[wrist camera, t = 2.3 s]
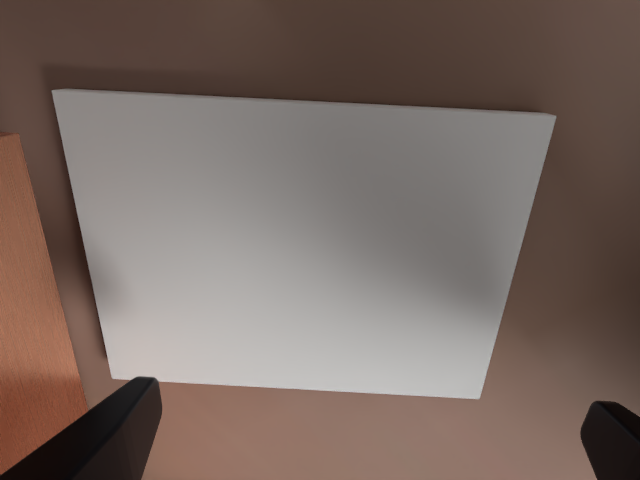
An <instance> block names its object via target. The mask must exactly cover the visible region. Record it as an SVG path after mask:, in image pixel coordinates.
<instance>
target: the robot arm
mask: <svg viewBox="0 0 640 480" xmlns="http://www.w3.org/2000/svg"><path fill="white" fill-rule="evenodd" d="M161 415H162V402H161V395H160V389H159V383H158V380H157V379H156V378H155V377H145V376H138V377H135V378H133V379H132V380H130V381H129V382H128V383H126V384H125V385H123V386H122V387H121V388H119V389H118V390H117V391H115V392H114V393H112V394H111V395H110V396H108V397H107V398H106V399H104V400H103V401H101V402H100V403H99V404H97V405H96V406H95V407H93V408H92V409H90V410H89V411H88V412H86V413H85V414H84V415H82V416H81V417H79V418H78V419H77V420H75V421H74V422H73V423H71V424H70V425H68V426H67V427H66V428H64V429H63V430H62V431H60V432H59V433H57V434H56V435H55V436H53V437H52V438H51V439H49V440H48V441H46V442H45V443H44V444H42V445H41V446H40V447H38V448H37V449H35V450H34V451H33V452H31V453H30V454H29V455H27V456H26V457H24V458H23V459H22V460H20V461H19V462H18V463H16V464H15V465H13V466H12V467H11V468H9V469H8V470H7V471H5V472H4V473H2V474H1V475H0V480H141V479H142V475H143V472H144V469H145V466H146V463H147V460H148V457H149V454H150V450H151V447H152V444H153V441H154V438H155V435H156V432H157V429H158V425H159V422H160V419H161ZM580 433H581V440H582V443H583V446H584V448H585V451H586V453H587V456H588V458H589V461H590V463H591V465H592V468H593V470H594V473H595V475H596V478H597V480H640V417H639V416H637V415H636V414H634V413H633V412H631V411H630V410H628V409H627V408H625V407H624V406H622V405H620V404H619V403H616V402H610V401H595V402H593V403H592V404H591V406H590V408H589V411H588V413H587V415H586V418H585V420H584V422H583V425H582V427H581V432H580Z"/></svg>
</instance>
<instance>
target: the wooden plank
mask: <svg viewBox="0 0 640 480" xmlns="http://www.w3.org/2000/svg"><path fill="white" fill-rule="evenodd" d="M86 412H88V408H87V404H86V400H85V396H84V392H83V388H82V384H81V380H80V376H79V372H78V368H77V364H76V360H75V356H74V352H73V348H72V344H71V340H70V336H69V332H68V328H67V324H66V320H65V316H64V313H63V309H62V305H61V301H60V297H59V293H58V289H57V285H56V281H55V277H54V273H53V269H52V265H51V261H50V257H49V253H48V249H47V245H46V241H45V237H44V233H43V229H42V225H41V221H40V217H39V213H38V209H37V205H36V201H35V197H34V193H33V189H32V185H31V181H30V177H29V173H28V169H27V165H26V161H25V157H24V153H23V149H22V145H21V141H20V137H19V133H5V132H0V475H1V474H2V473H4V472H5V471H7V470H8V469H9V468H11V467H12V466H13V465H15V464H16V463H18V462H19V461H20V460H22V459H23V458H24V457H26V456H27V455H29V454H30V453H31V452H33V451H34V450H35V449H37V448H38V447H40V446H41V445H42V444H44V443H45V442H46V441H48V440H49V439H51V438H52V437H53V436H55V435H56V434H57V433H59V432H60V431H62V430H63V429H64V428H66V427H67V426H68V425H70V424H71V423H73V422H74V421H75V420H77V419H78V418H79V417H81V416H82V415H84V414H85V413H86Z"/></svg>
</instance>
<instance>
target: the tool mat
mask: <svg viewBox="0 0 640 480" xmlns="http://www.w3.org/2000/svg"><path fill="white" fill-rule="evenodd" d="M51 91H52V95H53V100H54V105H55V110H56V114H57V119H58V124H59V129H60V133H61V138H62V143H63V148H64V152H65V157H66V162H67V167H68V171H69V176H70V181H71V186H72V190H73V195H74V200H75V205H76V210H77V214H78V219H79V224H80V229H81V233H82V238H83V243H84V248H85V252H86V257H87V262H88V267H89V271H90V276H91V281H92V286H93V290H94V295H95V300H96V305H97V309H98V314H99V319H100V324H101V329H102V333H103V338H104V343H105V348H106V352H107V357H108V362H109V367H110V371H111V376H112V379H125V380H132V379H133V378H135V377H138V376H145V377H155V378H156V379H157V380H158V381H161V382H179V383H197V384H215V385H233V386H251V387H269V388H287V389H305V390H323V391H341V392H359V393H378V394H396V395H414V396H432V397H450V398H468V399H480V395H481V392H482V388H483V384H484V381H485V377H486V373H487V370H488V366H489V362H490V359H491V355H492V351H493V348H494V344H495V340H496V337H497V333H498V329H499V326H500V322H501V318H502V315H503V311H504V307H505V304H506V300H507V296H508V293H509V289H510V285H511V282H512V278H513V274H514V271H515V267H516V263H517V260H518V256H519V252H520V249H521V245H522V241H523V238H524V234H525V230H526V227H527V223H528V219H529V216H530V212H531V208H532V205H533V201H534V197H535V194H536V190H537V186H538V183H539V179H540V175H541V172H542V168H543V164H544V161H545V157H546V153H547V150H548V146H549V142H550V139H551V135H552V131H553V128H554V124H555V120H556V117H557V116H555V115H551V114H547V113H537V112H517V111H498V110H478V109H458V108H438V107H419V106H399V105H379V104H360V103H340V102H320V101H301V100H281V99H261V98H242V97H222V96H202V95H182V94H163V93H143V92H123V91H104V90H84V89H58V90H51Z"/></svg>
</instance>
